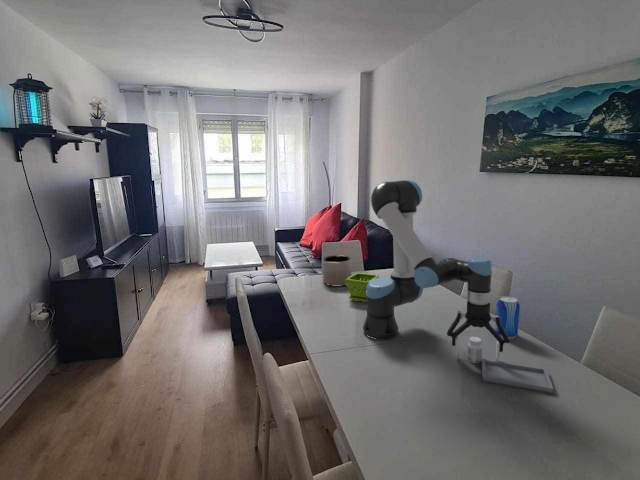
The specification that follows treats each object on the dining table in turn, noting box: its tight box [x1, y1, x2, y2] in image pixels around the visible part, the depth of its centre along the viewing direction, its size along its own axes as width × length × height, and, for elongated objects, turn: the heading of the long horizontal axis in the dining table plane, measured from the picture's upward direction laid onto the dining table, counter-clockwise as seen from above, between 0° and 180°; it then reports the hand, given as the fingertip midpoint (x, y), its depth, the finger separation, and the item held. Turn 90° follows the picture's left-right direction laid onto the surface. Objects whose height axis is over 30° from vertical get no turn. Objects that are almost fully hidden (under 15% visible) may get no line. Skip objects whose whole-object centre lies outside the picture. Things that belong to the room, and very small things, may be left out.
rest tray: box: [481, 358, 555, 395], centre depth 120 cm, size 20×12×2 cm, turn 68°
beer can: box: [494, 295, 521, 340], centre depth 147 cm, size 8×8×16 cm
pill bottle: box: [466, 336, 483, 364], centre depth 131 cm, size 5×5×8 cm
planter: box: [322, 254, 353, 286], centre depth 223 cm, size 18×18×16 cm
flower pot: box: [346, 272, 380, 303], centre depth 194 cm, size 14×14×13 cm
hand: (476, 356), depth 130 cm, fingers open, 13 cm apart
